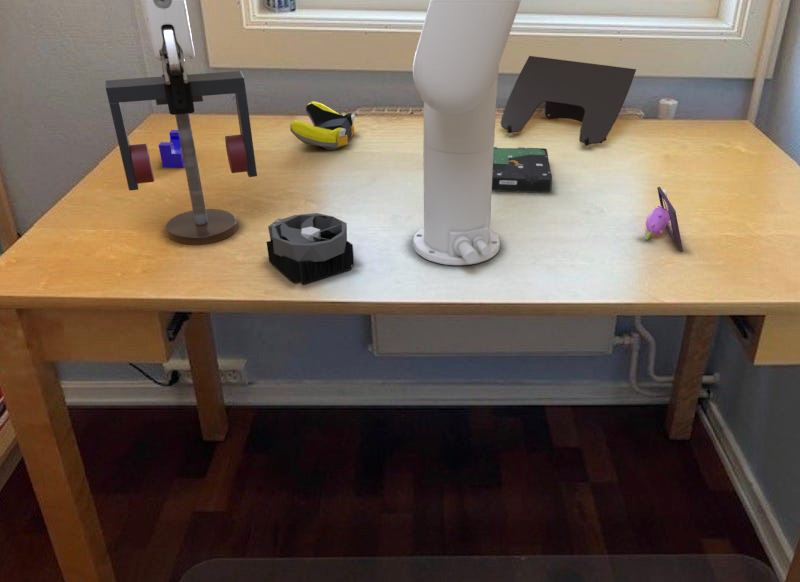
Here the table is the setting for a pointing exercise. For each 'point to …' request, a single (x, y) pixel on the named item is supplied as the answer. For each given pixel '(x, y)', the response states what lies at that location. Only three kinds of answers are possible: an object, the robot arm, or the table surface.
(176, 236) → the stand
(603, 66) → the laptop tray
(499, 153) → the disk drive
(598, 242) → the table surface
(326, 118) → the gaming controller
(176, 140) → the cable holder
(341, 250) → the cpu cooler
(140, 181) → the headset
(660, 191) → the purple piece
